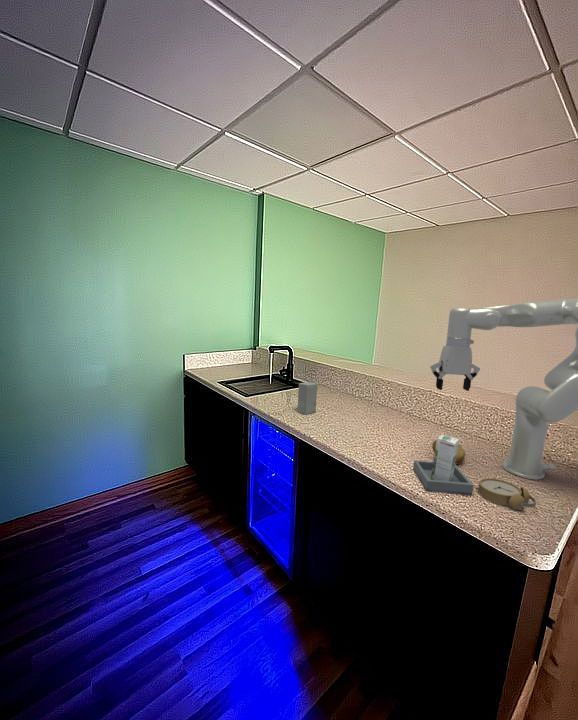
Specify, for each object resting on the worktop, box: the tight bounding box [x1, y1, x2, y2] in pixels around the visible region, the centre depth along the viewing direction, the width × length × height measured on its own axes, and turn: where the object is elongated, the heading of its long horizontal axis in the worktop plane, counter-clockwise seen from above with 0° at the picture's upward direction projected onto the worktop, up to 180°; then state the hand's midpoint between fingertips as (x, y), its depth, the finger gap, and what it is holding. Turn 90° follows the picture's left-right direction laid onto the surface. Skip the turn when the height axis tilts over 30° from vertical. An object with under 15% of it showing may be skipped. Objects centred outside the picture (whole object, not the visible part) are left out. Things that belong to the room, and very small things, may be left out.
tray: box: [412, 459, 475, 496], centre depth 107 cm, size 14×14×4 cm
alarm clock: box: [474, 477, 537, 511], centre depth 99 cm, size 11×5×15 cm
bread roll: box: [431, 439, 466, 465], centre depth 123 cm, size 13×10×8 cm
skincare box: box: [297, 381, 318, 416], centre depth 171 cm, size 8×7×16 cm
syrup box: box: [431, 434, 460, 481], centre depth 106 cm, size 6×6×14 cm
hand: (452, 389), depth 117 cm, fingers open, 9 cm apart
